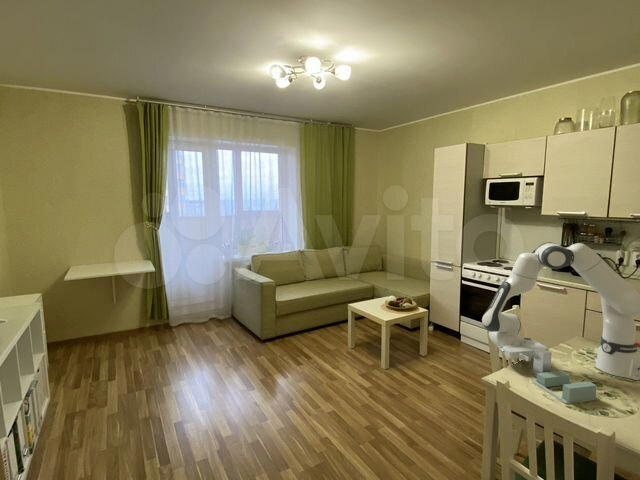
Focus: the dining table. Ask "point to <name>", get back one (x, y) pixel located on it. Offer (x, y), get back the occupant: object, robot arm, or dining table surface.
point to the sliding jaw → (553, 378)
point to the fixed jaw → (574, 392)
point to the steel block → (541, 361)
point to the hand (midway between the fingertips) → (538, 358)
